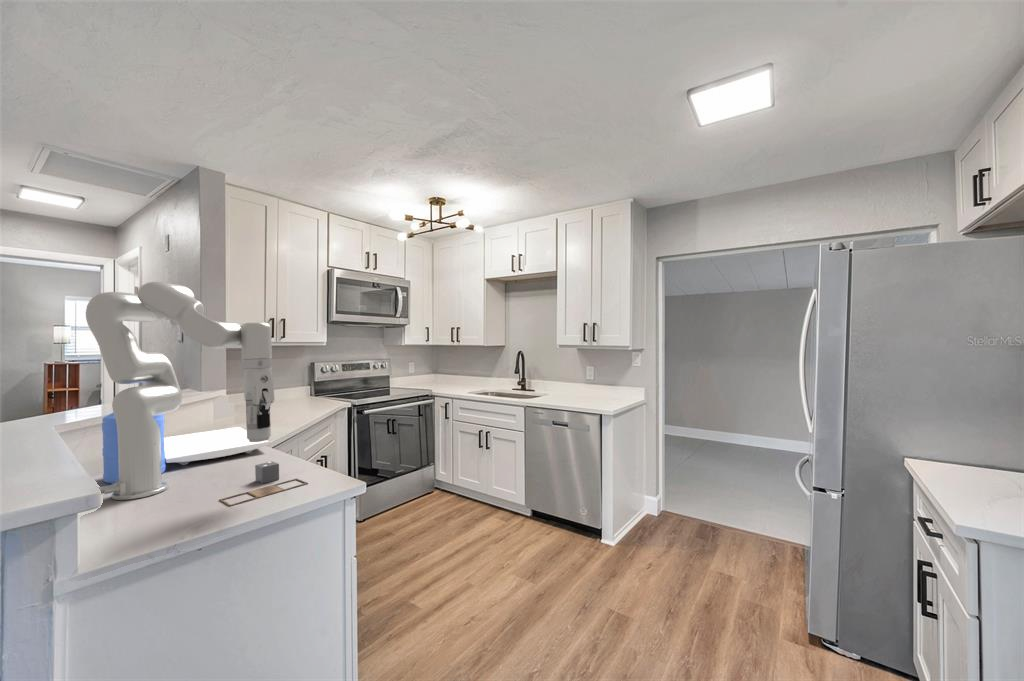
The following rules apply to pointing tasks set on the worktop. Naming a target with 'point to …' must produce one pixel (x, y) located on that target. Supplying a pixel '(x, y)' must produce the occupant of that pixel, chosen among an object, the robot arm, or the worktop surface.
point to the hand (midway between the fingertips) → (258, 426)
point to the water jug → (112, 447)
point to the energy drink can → (255, 422)
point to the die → (267, 472)
